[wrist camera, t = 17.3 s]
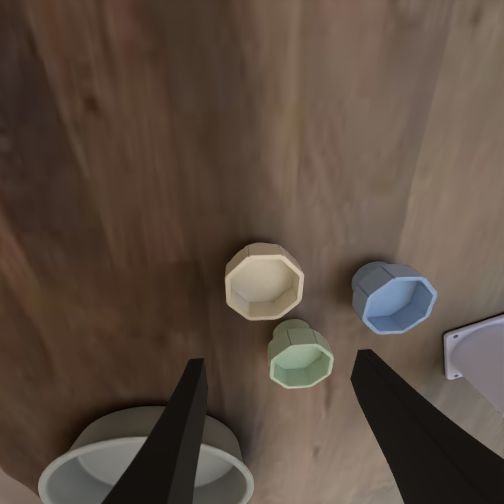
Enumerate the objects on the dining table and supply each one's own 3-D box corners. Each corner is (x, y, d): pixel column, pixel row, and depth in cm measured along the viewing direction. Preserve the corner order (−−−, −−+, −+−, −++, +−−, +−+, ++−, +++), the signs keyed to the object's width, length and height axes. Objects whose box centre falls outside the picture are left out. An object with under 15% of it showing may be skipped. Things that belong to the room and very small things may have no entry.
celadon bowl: (321, 311, 23) (337, 342, 20) (315, 351, 26) (328, 386, 22) (265, 313, 23) (271, 346, 19) (264, 354, 25) (269, 390, 22)
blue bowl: (409, 252, 21) (445, 275, 17) (393, 302, 23) (422, 332, 20) (348, 254, 21) (372, 278, 17) (338, 305, 23) (357, 336, 19)
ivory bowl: (293, 232, 19) (307, 253, 16) (289, 288, 22) (299, 318, 18) (225, 234, 19) (223, 256, 15) (228, 291, 21) (227, 321, 18)
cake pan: (130, 506, 38) (117, 550, 34) (18, 428, 28) (-19, 477, 24) (272, 471, 36) (277, 513, 32) (210, 372, 26) (205, 415, 22)
